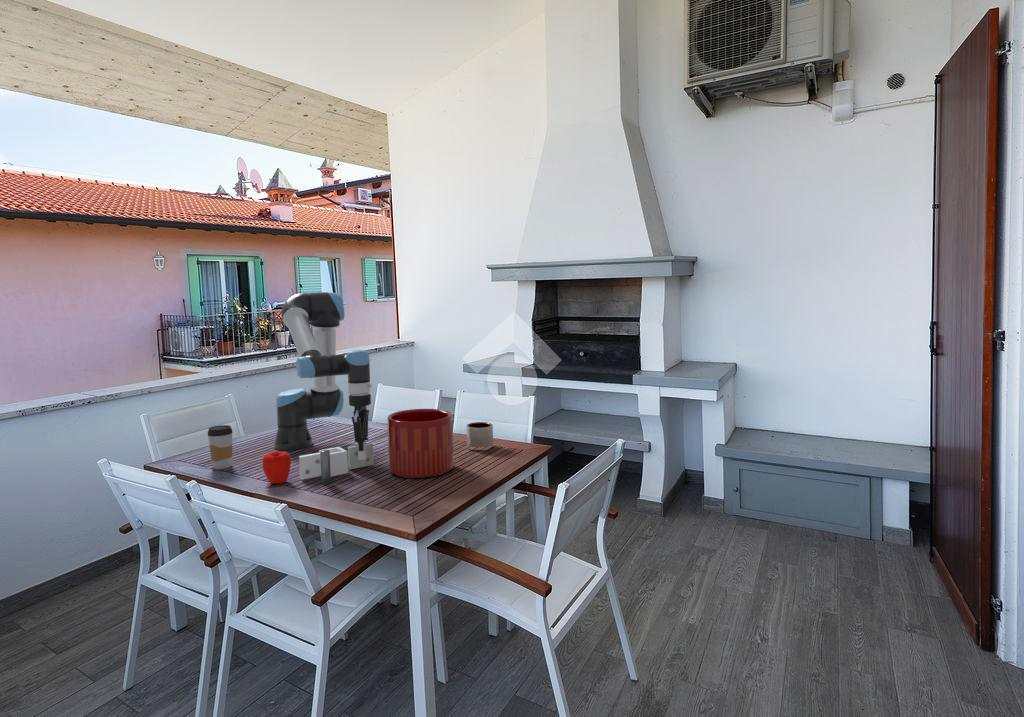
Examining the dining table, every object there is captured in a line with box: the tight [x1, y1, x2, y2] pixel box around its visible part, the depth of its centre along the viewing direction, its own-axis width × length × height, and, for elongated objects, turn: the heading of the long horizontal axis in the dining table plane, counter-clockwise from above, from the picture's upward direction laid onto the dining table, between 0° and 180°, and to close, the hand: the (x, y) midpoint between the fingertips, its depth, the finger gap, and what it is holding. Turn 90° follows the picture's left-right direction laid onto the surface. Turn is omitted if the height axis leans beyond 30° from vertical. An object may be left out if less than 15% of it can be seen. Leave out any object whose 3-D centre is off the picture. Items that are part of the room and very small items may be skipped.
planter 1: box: [386, 408, 454, 479], centre depth 207 cm, size 23×23×20 cm
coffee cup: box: [207, 424, 234, 470], centre depth 213 cm, size 8×8×15 cm
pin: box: [320, 449, 332, 485], centre depth 194 cm, size 3×3×11 cm
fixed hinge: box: [298, 446, 349, 481], centre depth 203 cm, size 7×15×8 cm, turn 127°
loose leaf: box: [347, 442, 375, 470], centre depth 211 cm, size 2×9×8 cm, turn 125°
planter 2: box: [466, 421, 494, 448], centre depth 236 cm, size 11×11×10 cm
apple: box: [262, 450, 292, 485], centre depth 194 cm, size 9×9×11 cm
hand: (362, 458), depth 206 cm, fingers closed
